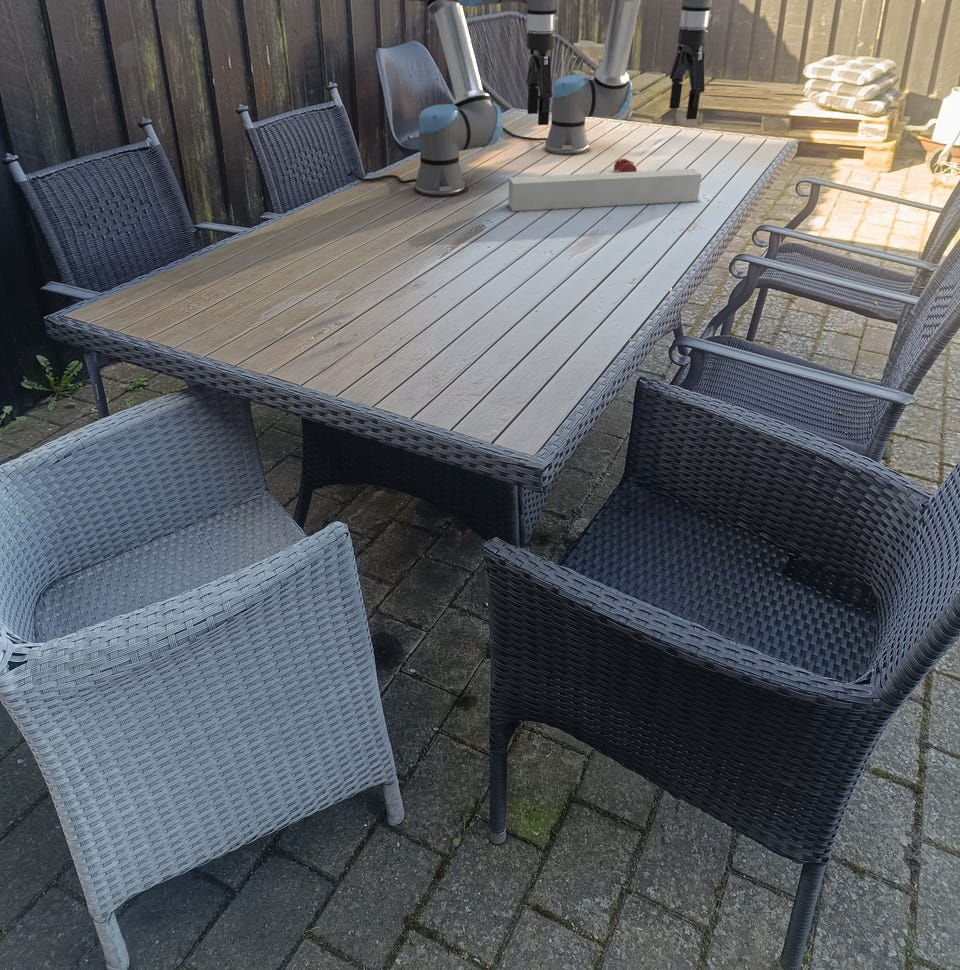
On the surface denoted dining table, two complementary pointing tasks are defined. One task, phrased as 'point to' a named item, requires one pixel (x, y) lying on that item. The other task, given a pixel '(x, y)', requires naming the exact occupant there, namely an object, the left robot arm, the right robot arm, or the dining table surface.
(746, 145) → the dining table surface
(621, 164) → the red rounded lump
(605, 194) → the beam
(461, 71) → the left robot arm
